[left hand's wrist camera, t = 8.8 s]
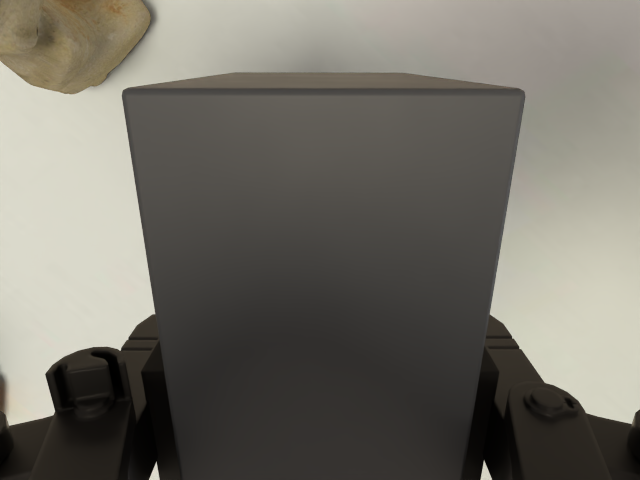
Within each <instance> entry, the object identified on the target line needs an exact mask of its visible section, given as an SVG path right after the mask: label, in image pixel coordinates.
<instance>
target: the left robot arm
mask: <svg viewBox="0 0 640 480" xmlns="http://www.w3.org/2000/svg"><path fill="white" fill-rule="evenodd" d="M45 375H46V379H47V382H48V386H49V390H50V393H51V397H52V401H53V404H54V408H55V413H54V415H53V416H50V417H46V418H43V419H38V420H34V421H29V422H25V423H20V424H16V425H11V426H9V424H8V421H7V418H6V415H5V414H4V413H3V412H1V411H0V480H149V478H150V476H151V473H152V471H153V468H154V466H155V463H156V461H157V466H158V472H159V477H160V480H181V476H180V470H179V463H178V457H177V450H176V444H175V437H174V431H173V424H172V418H171V411H170V405H169V398H168V392H167V385H166V379H165V372H164V366H163V359H162V353H161V346H160V340H159V333H158V327H157V320H156V314H153V315H151V316H150V317H148V318H147V319H146V320H144V321H143V322H141V323H140V324H138V325H137V326H136V328H135V329H134V331H133V332H132V334H131V335H130V336H129V340H127V341H126V342H125V344H124V345H123V346H122V348H121V351H119V350H118V349H114V348H110V347H92V348H88V349H84V350H80V351H77V352H74V353H72V354H70V355H67V356H65V357H63V358H62V359H60V360H59V361H58V362H56V363H55V364H53V365H52V366H51V368H50V369H49V370H48V371H47V373H46V374H45ZM484 461H485V463H486V465H487V468H488V470H489V473H490V475H491V478H492V480H640V410H639V411H637V412H636V413H635V416H634V419H633V422H632V424H628V423H624V422H619V421H615V420H610V419H606V418H601V417H597V416H594V415H590V414H587V413H585V410H584V409H583V407H582V406H581V404H580V403H579V401H578V400H576V399H575V398H574V397H573V396H571V395H570V394H569V393H568V392H566V391H564V390H562V389H560V388H558V387H556V386H554V385H550V384H546V383H544V381H543V380H542V378H541V377H540V375H539V374H538V373H537V371H536V370H535V368H534V367H533V366H532V364H531V363H530V361H529V360H528V358H527V357H526V356H525V354H524V353H523V351H522V350H521V349H519V346H518V344H517V343H516V341H515V340H514V339H512V336H511V334H510V333H509V331H508V330H507V329H506V327H505V326H504V324H503V323H501V322H500V321H498V320H497V319H495V318H494V317H493V316H491V315H490V314H489V320H488V326H487V332H486V338H485V345H484V351H483V357H482V363H481V369H480V375H479V381H478V387H477V393H476V399H475V406H474V412H473V418H472V424H471V430H470V436H469V442H468V448H467V454H466V460H465V466H464V473H463V479H462V480H480V479H481V473H482V468H483V462H484Z"/></svg>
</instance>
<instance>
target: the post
mask: <svg viewBox="0 0 640 480" xmlns="http://www.w3.org/2000/svg"><path fill="white" fill-rule="evenodd" d="M122 100H123V106H124V113H125V119H126V126H127V132H128V139H129V145H130V152H131V158H132V165H133V171H134V178H135V184H136V191H137V197H138V203H139V210H140V216H141V223H142V229H143V236H144V242H145V249H146V255H147V262H148V268H149V275H150V281H151V288H152V294H153V301H154V307H155V314H156V320H157V327H158V333H159V340H160V346H161V353H162V359H163V366H164V372H165V379H166V385H167V392H168V398H169V405H170V411H171V418H172V424H173V431H174V437H175V444H176V450H177V457H178V463H179V470H180V476H181V480H462V479H463V473H464V466H465V460H466V454H467V448H468V442H469V436H470V430H471V424H472V418H473V412H474V406H475V399H476V393H477V387H478V381H479V375H480V369H481V363H482V357H483V351H484V345H485V338H486V332H487V326H488V320H489V314H490V308H491V302H492V296H493V290H494V284H495V278H496V271H497V265H498V259H499V253H500V247H501V241H502V235H503V229H504V223H505V217H506V210H507V204H508V198H509V192H510V186H511V180H512V174H513V168H514V162H515V156H516V150H517V143H518V137H519V131H520V125H521V119H522V113H523V107H524V101H525V93H524V91H523V90H521V89H519V88H511V87H504V86H496V85H489V84H481V83H474V82H466V81H459V80H451V79H444V78H436V77H429V76H421V75H414V74H406V73H229V74H222V75H215V76H208V77H201V78H194V79H187V80H179V81H172V82H165V83H158V84H151V85H144V86H137V87H130V88H127V89H125V90H123V93H122Z"/></svg>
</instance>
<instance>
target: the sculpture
mask: <svg viewBox="0 0 640 480" xmlns="http://www.w3.org/2000/svg"><path fill="white" fill-rule="evenodd" d="M150 17H151V16H150V13H149V11H148V9H147V8H146V6H145V5H144V4H143V2H142V1H141V0H0V61H1V62H3V63H4V64H5V65H6V66H7V67H8V68H10V69H11V70H12V71H13V72H15V73H16V74H17V75H18V76H20V77H21V78H22V79H24V80H25V81H26V82H28V83H29V84H31V85H33V86H37V87H41V88H44V89H48V90H53V91H58V92H61V93H64V94H76V93H78V92H80V91H82V90H84V89H86V88H88V87H89V86H97V85H99V84H101V83H102V82H103V81H104V80H105V79H106V77H107V74H108V73H109V72H110V71H111V70H112V69H114V68H115V67H116V66H117V65H118V64H119V63H120V62H121V61H122V60H123V59H124V58H125V57H126V56H127V54H128V53H129V52H130V51H131V50H132V48H133V47H134V46H135V45H136V44H137V43H138V41H139V40H140V39H141V38H142V36H143V35H144V33H145V31H146V30H147V28H148V26H149V24H150Z"/></svg>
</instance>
